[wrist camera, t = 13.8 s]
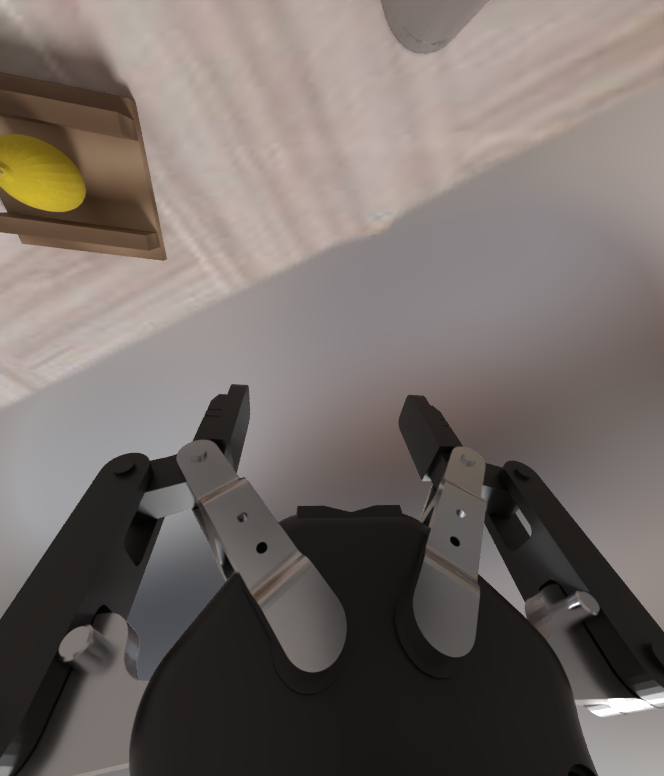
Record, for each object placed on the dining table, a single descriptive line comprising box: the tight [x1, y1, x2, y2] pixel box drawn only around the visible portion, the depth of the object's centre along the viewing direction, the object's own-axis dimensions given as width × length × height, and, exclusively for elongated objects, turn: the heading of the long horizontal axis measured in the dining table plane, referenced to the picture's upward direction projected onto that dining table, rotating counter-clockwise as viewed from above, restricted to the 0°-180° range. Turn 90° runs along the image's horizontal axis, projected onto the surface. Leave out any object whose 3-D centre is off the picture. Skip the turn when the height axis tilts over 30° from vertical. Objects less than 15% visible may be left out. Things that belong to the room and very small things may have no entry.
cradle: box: [0, 72, 167, 260], centre depth 27 cm, size 14×15×4 cm
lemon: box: [0, 134, 86, 212], centre depth 24 cm, size 6×6×8 cm
